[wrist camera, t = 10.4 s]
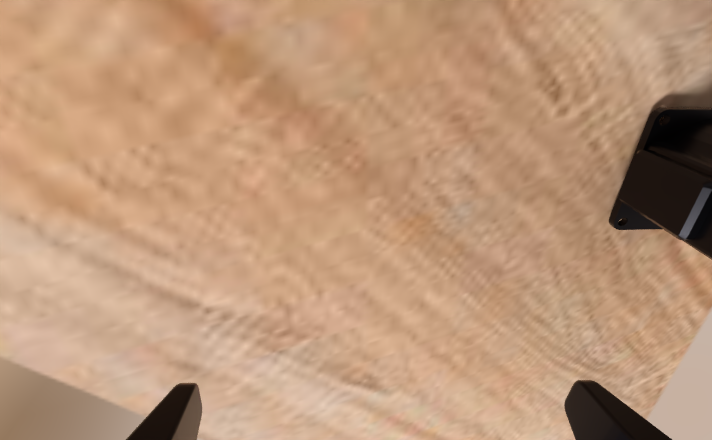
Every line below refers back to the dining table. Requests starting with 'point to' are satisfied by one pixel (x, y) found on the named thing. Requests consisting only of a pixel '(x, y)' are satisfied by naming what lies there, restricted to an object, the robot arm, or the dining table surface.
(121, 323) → the dining table surface
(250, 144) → the dining table surface
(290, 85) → the dining table surface
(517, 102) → the dining table surface
